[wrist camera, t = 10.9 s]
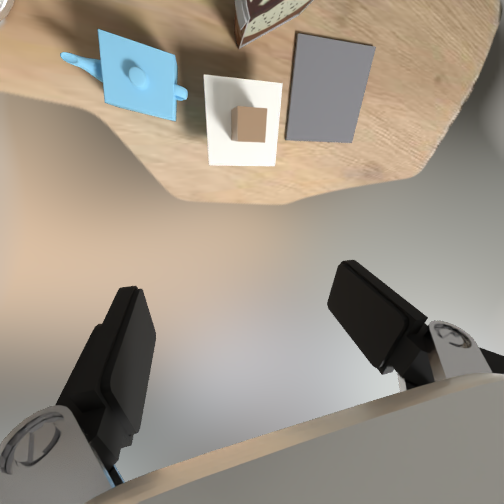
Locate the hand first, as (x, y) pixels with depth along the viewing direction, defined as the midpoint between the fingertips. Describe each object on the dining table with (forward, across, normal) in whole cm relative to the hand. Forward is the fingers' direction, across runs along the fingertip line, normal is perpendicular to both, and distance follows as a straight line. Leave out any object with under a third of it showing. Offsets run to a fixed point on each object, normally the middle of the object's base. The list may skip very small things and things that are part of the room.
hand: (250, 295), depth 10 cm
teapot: (+31, +8, -12) cm, 34 cm away
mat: (+30, -20, -13) cm, 38 cm away
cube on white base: (+26, -5, -8) cm, 27 cm away
